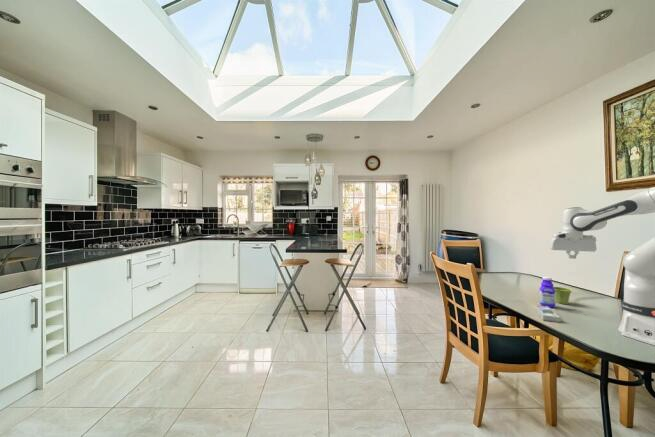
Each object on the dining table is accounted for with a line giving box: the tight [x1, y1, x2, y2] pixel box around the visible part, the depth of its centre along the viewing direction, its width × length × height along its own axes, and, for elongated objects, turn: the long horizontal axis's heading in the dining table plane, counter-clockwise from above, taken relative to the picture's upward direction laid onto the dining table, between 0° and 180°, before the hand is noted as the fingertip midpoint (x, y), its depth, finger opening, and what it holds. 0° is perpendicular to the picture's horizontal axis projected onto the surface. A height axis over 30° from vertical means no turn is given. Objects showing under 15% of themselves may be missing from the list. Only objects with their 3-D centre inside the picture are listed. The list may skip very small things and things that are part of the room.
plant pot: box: [553, 286, 573, 305], centre depth 162 cm, size 9×9×9 cm
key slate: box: [540, 307, 553, 313], centre depth 142 cm, size 4×4×2 cm
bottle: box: [538, 276, 556, 308], centre depth 156 cm, size 7×6×17 cm
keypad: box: [532, 304, 561, 323], centre depth 142 cm, size 17×7×3 cm, turn 156°
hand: (572, 258), depth 153 cm, fingers closed
